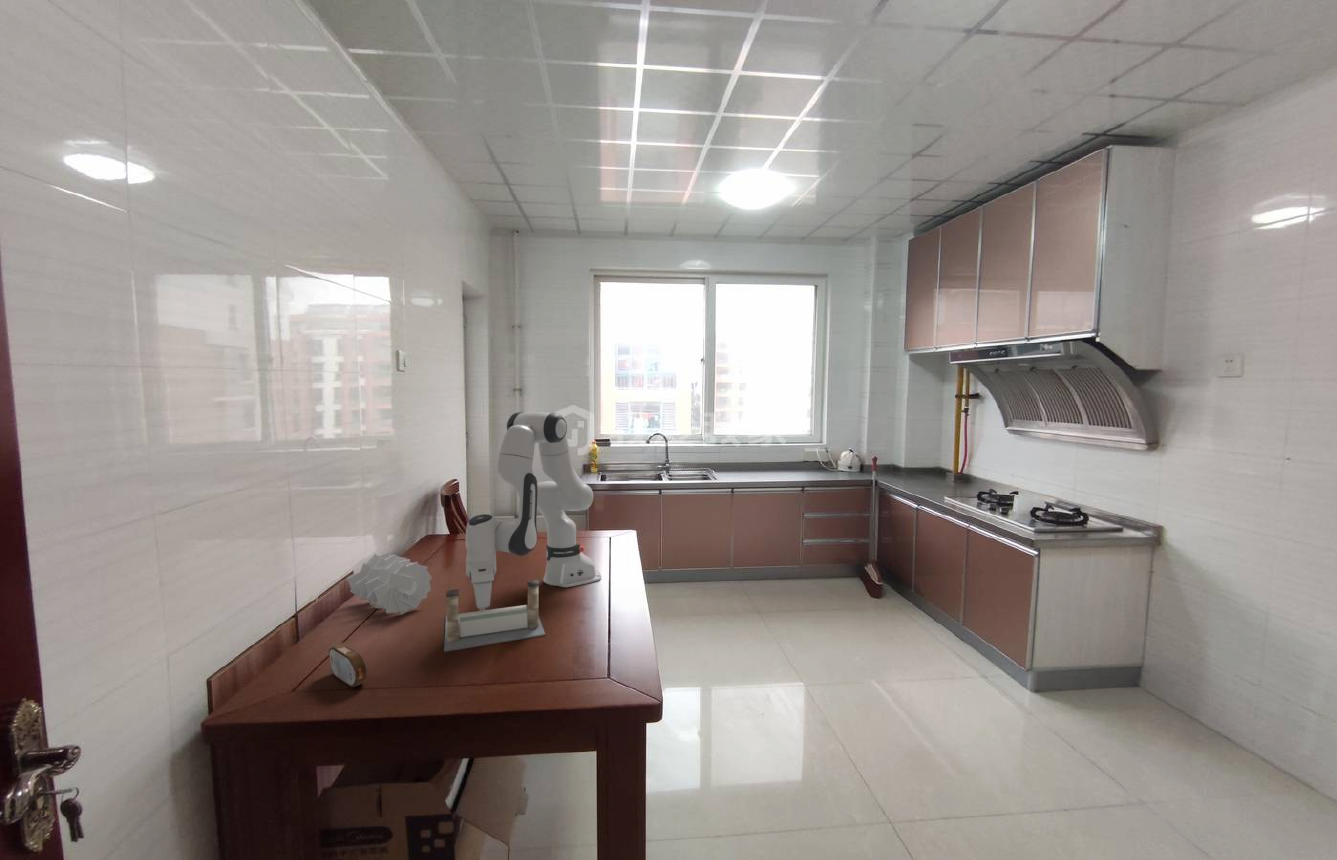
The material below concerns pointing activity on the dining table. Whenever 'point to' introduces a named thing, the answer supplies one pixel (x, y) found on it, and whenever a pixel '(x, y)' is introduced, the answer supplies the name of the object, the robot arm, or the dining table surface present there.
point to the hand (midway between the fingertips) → (482, 610)
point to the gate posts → (453, 610)
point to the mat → (492, 636)
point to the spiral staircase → (391, 583)
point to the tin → (347, 665)
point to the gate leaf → (493, 620)
